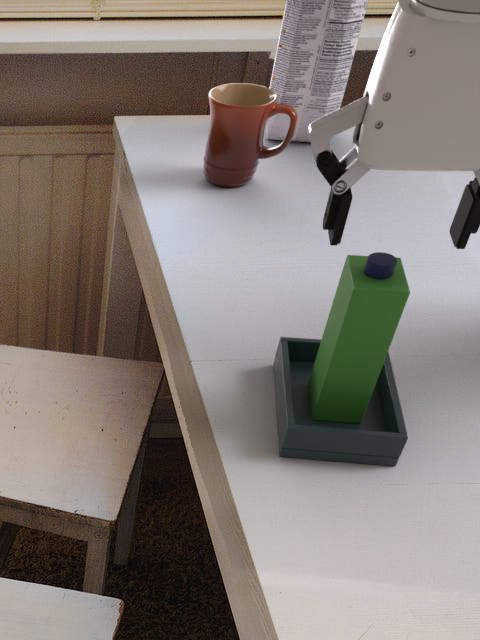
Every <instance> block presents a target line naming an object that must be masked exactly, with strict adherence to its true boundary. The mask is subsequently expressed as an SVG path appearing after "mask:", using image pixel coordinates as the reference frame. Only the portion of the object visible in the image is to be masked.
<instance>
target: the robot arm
mask: <svg viewBox="0 0 480 640" xmlns="http://www.w3.org/2000/svg"><path fill="white" fill-rule="evenodd" d="M393 10H394V11H393V12H392V15H391V17H390V19H389V21H388V23H387V26H386V29H385V32H384V33H383V36H382V38H381V42H380V45H379V47H378V50H377V53H376V54H375V58H374V60H373V65H372V67H371V69H370V74H369V76H368V79H367V83H366V85H365V89H364V91H363V95H362V97H361V98H358V99H357V100H354V101H353V102H351V103H348V104H346V105H345V106H341V107H340V109H338V110H336V111H334V112H332V113H330V114H328V115H326V116H324V117H322V118H320V119H318V120H316V121H314V122H312V123H311V124H310V125H309V128H308V132H309V138H310V142H309V143H310V146H311V149H312V153H313V157H314V160H315V164H316V168H317V170H318V171H319V172H320V174H321V175H322V177H323V178H324V179H325V181H326V182H327V183H328V185H329V186H330V189H329V190H330V191H329V194H328V198H327V202H326V206H325V209H324V214H323V218H322V230H323V231H327V234H328V239H329V245H330V246H338V245H341V243H342V238H343V235H344V232H345V227H346V225H347V220H348V216H349V212H350V209H351V205H352V201H353V191H352V187H353V186H354V185H355V184H357V182H358V181H359V180H361V179H362V178H363V177H364V176H365V175H366V174H367V173H368V172H370V171H371V170H375V171H376V170H377V171H396V172H397V171H399V172H400V171H401V172H403V171H404V172H473V174H474V178H473V180H469V182H468V184H466V185H465V186H464V190H463V192H462V195H461V197H460V201H459V202H458V206H457V208H456V211H455V214H454V217H453V219H452V222H451V225H450V227H449V236H450V238H451V242H452V244H453V247H454V248H456V249H457V250H464V249H466V246H467V245H468V242H469V239H470V237H471V234H474V235H475V234H477V233H478V231H479V229H480V0H398V1H397V3H396V6H395V8H394V9H393ZM352 128H353V131H352V144H355V145H354V147H352V148H351V149H350V150H349V151H348V152H347V153H346V154H344V156H342V157H341V159H339V158H338V157H337V156H336V154H335V152H333V150H332V148H331V143H330V142H331V140H332V138H333V137H336V136H337V135H339V134H341V133H343V132H346V131H347V130H349V129H352Z"/></svg>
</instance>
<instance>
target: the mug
mask: <svg viewBox="0 0 480 640" xmlns="http://www.w3.org/2000/svg"><path fill="white" fill-rule="evenodd" d="M276 100H277V94H276V93H275V92H274V91H273V90H271V89H269V87H267V86H264V85H260V84H255V83H247V82H237V83H236V82H231V83H225V84H221V85H217V86H215V87H213V88H211V89H210V90H209V92H208V104H209V127H208V131H207V132H208V133H207V137H206V144H205V149H204V156H203V158H202V159H203V164H202V168H203V177H205V179H206V180H207V181H208V182H210V183H211V184H213V185H216V186H219V187H224V188H225V187H226V188H234V187H241V186H244V185H246V184H248V183H250V182H251V181H252V180H253V179H254V177H255V174H256V172H257V170H258V166H259V164H260V160H265V159H270V158H273V157H275V156H278V155H280V154H281V153H282V152H284V151H285V150H286V149H287V147H288V146H289V145H290V143H291V142H292V141H291V140H292V138H293V136H294V133H295V130H296V127H297V122H298V115H297V112H296V110H295V109H294V108H293V107H291V106H289V105H284V104H277V103H276ZM276 114H287V115H288V116H289V117H290V126H289V129H288V132H287V135H286V137H285V139H284V140H282V142H280V143H279V144H278V145H276V146H272V147H268V146H265V145H264V135H265V131H266V122H267V120H268V118H270V117H272V116H274V115H276Z"/></svg>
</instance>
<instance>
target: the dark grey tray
mask: <svg viewBox="0 0 480 640" xmlns="http://www.w3.org/2000/svg"><path fill="white" fill-rule="evenodd" d="M321 340H322V338H321V339H320V338H305V337H304V338H303V337H291V336H290V337H289V336H280V337H279V341H278V344H277V348H276V352H275V357H274V360H273V362H272V363H273V364H272V367H273V381H274V397H275V398H274V399H275V410H276V411H275V412H276V425H277V426H276V427H277V428H276V429H277V441H278V442H277V443H278V455H279V457H280V458H293V459H304V460H314V461H315V460H317V461H330V462H339V463H351V464H352V463H354V464H364V465H374V466H375V465H378V466H389V467H396V466H397V464H398V462H399V460H400V457H401V455H402V453H403V451H404V448H405V446H406V444H407V441H408V439H409V436H408V432H407V431H408V430H407V427H406V423H405V418H404V414H403V409H402V404H401V400H400V395H399V391H398V387H397V383H396V378H395V373H394V369H393V365H392V362H391V357H390V353H389V351H390V350H388V353H387V355H386V358H385V361H384V363H383V366H382V369H381V371H380V374H379V377H378V379H377V382H376V384H375V387H374V390H373V392H372V395H371V398H370V400H369V403H368V406H367V408H366V411H365V414H364V416H363V419H362V422H361V423H348V422H335V421H322V420H312V414H311V405H310V396H309V387H308V382H309V379H310V376H311V373H312V369H313V366H314V363H315V359H316V356H317V353H318V350H319V346H320V343H321Z"/></svg>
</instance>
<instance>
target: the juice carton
mask: <svg viewBox="0 0 480 640" xmlns="http://www.w3.org/2000/svg"><path fill="white" fill-rule="evenodd" d="M368 3H369V0H286V2H285V6H284V7H285V8H284V12H283V16H282V21H281V27H280V31H279V32H280V33H279V37H278V42H277V47H276V52H275V58H274V61H273V68H272V72H271V78H270V83H269V87H268V88H269V89H271V90H273V91H274V92H275V93H276V94H277V100H276V103H277V104H284V105H289V106H291V107H293V108H294V109H295V110H296V112H297V115H298V122H297V127H296V130H295V133H294V136H293V138H292V140H291V141H290V142H300V143H311V142H310V138H309V132H308V128H309V125H310V124H311V123H312V122H314V121H316V120H318V119H320V118H322V117H324V116H326V115H328V114H330V113H332V112H334V111H336V110H338V109H340V108H342V103H343V99H344V96H345V92H346V88H347V85H348V84H347V83H348V80H349V77H350V73H351V69H352V65H353V61H354V57H355V54H356V51H357V46H358V42H359V38H360V35H361V30H362V27H363V23H364V19H365V15H366V11H367V7H368ZM289 126H290V117H289V116H288V115H287V114H276V115H274V116H272V117H270V118H268V120H267V122H266V126H265V134H266V139H267V140H273V141H284V139H285V137H286V135H287V132H288V129H289Z"/></svg>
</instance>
